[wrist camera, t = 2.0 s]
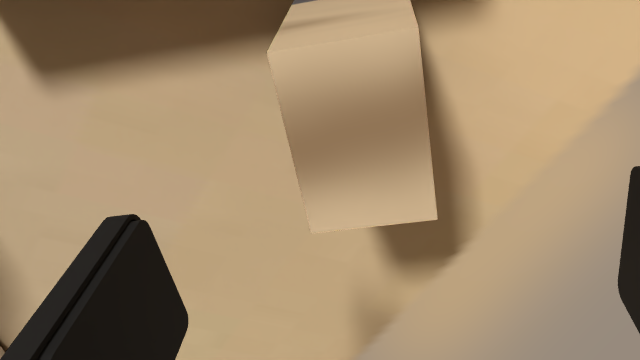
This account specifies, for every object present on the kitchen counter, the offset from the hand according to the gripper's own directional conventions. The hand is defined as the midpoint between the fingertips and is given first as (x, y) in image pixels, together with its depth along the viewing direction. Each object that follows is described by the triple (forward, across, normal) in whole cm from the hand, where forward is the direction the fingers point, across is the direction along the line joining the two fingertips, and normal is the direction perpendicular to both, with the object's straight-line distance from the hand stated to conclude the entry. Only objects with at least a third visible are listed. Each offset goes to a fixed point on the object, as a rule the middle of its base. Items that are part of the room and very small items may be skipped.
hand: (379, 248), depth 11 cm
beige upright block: (+14, +1, 0) cm, 14 cm away
